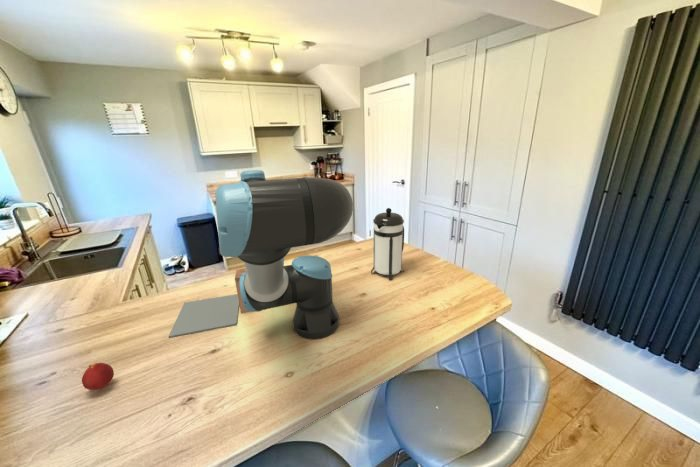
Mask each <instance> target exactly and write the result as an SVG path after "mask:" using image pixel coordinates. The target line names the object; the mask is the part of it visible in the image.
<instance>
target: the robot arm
mask: <svg viewBox="0 0 700 467" xmlns="http://www.w3.org/2000/svg"><path fill="white" fill-rule="evenodd" d="M214 192H215V193H214V196H215V208H216V210H215V211H216V220H217V232H218V244H219V246H218V247H219V254H220V255H221V256H222V257H224V258H237V259H239V260H241V261H242V262H244V267H245V268H246V270H247V272H245V273H243V274H241V276H240V280H239V285H240V293H241V298H242V301H243V305H244V307H245V309H246V310H247V311H249V312H248V313H251V312H252V313H253V312H262V311H265V310H268V309H273V308H278V307H279V308H280V307H283V306H287V305H293V304H296V307H295V311H294V314H293V317H292V318H293V319H292V328H293V331H294V332H295V334H296V335H297V336H299V337H301V338H303V339H308V340H318V339H323V338H326V337H328V336H330V335H332V334H333V333H335V332H336V331H337V329H338V328H339V325H340V316H339V313H338V310H337V308H336V306H335V304H334V301H333V300H334V298H333V281H332V280H333V279H332V278H333V273H332V268H331V263H330V262H329V261H328V260H327V259H325V258H324V257H321V256H319V255H310V254H308V255H305V254H304V255H299V256H297V257H295V258H294V259H292V262H291V264H289V265H285V257H286V256H287V255H288V254H289V252H290V251H291V249H292V248H297V247H304V246H310V245H317V244H321V243H324V242H327V241H329V240H331V239H333V238H335V237H336V236H337V235H339V233H341V232H342V231H343V230H344V229H345V227H346V226H348V224H349V222H350V220H351V218H352V215H353V210H354V202H353V198H352V194H351V193H350V191H349V190H348V189H347V187H346V186H345V185H344V184H342V182H341V183H340V182H339V181H336V180H334V179H329V178H323V177H312V176H310V177H309V176H303V177H292V178H281V179H278V178H277V179H266V175H265V172H264V171H263V170H261V169H249V170H242V171H241V172H240V180H239V181H238V182H235V183H234V182H233V183H224V184H221V185H219V186H218V187H217V188H216V190H215V191H214Z"/></svg>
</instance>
